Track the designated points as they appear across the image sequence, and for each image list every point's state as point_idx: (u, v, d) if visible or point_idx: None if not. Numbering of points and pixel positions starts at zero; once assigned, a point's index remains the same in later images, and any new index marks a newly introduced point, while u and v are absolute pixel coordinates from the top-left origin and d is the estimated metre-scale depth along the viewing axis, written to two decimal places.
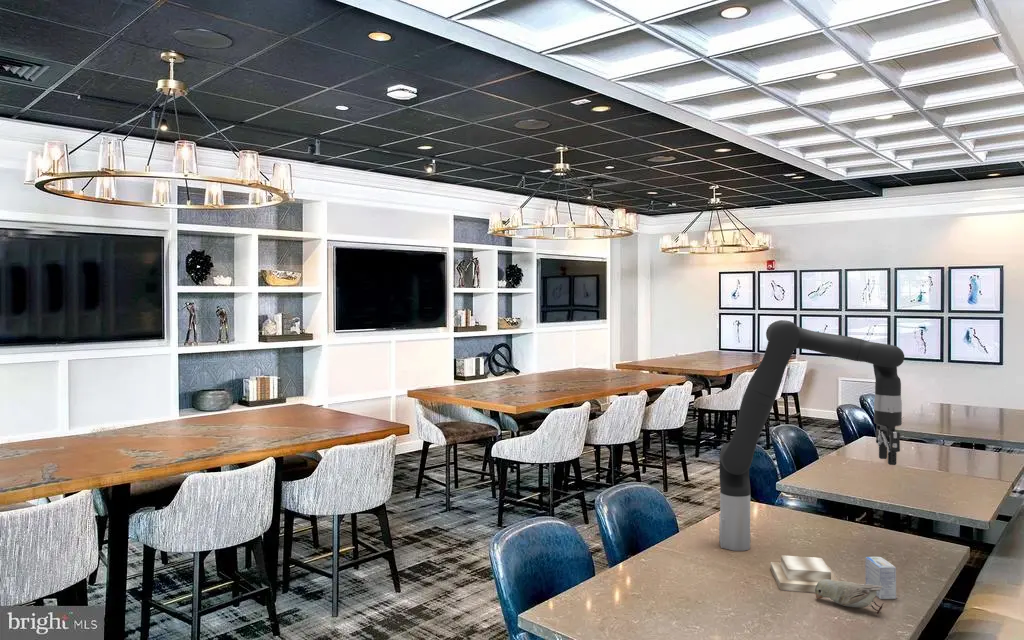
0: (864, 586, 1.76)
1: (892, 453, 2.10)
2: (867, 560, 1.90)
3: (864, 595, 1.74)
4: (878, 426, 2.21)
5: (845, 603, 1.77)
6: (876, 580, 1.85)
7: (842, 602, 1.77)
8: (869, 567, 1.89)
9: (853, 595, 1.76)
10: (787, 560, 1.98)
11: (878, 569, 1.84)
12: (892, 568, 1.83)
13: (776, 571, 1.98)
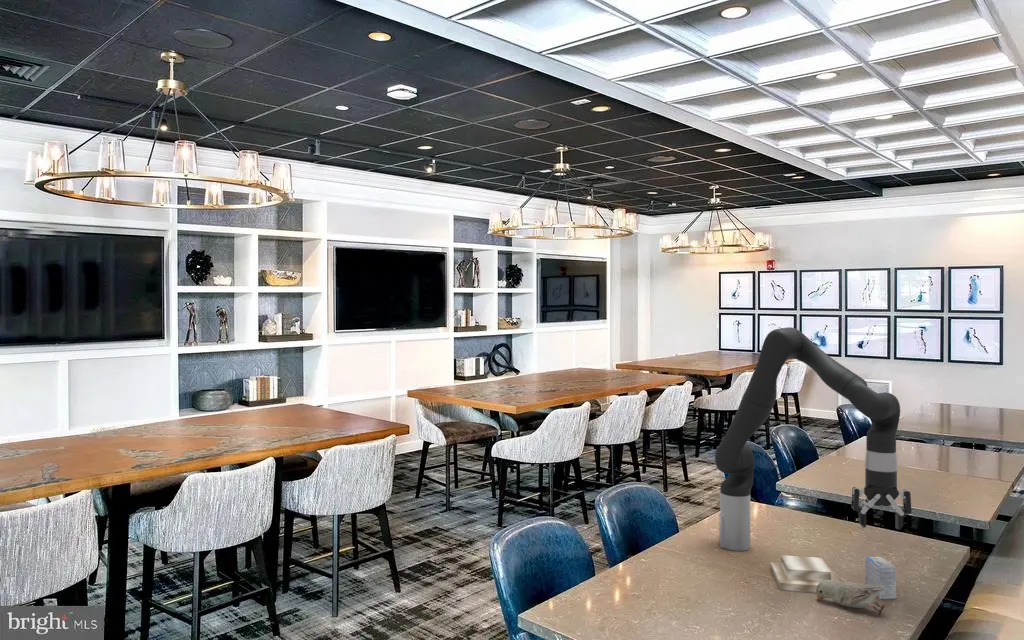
0: (866, 586, 1.75)
1: None
2: (867, 560, 1.90)
3: (865, 595, 1.74)
4: (858, 490, 1.87)
5: (846, 603, 1.76)
6: (876, 580, 1.85)
7: (844, 602, 1.77)
8: (869, 567, 1.89)
9: (855, 595, 1.75)
10: (787, 560, 1.98)
11: (878, 569, 1.84)
12: (892, 568, 1.83)
13: (776, 571, 1.98)
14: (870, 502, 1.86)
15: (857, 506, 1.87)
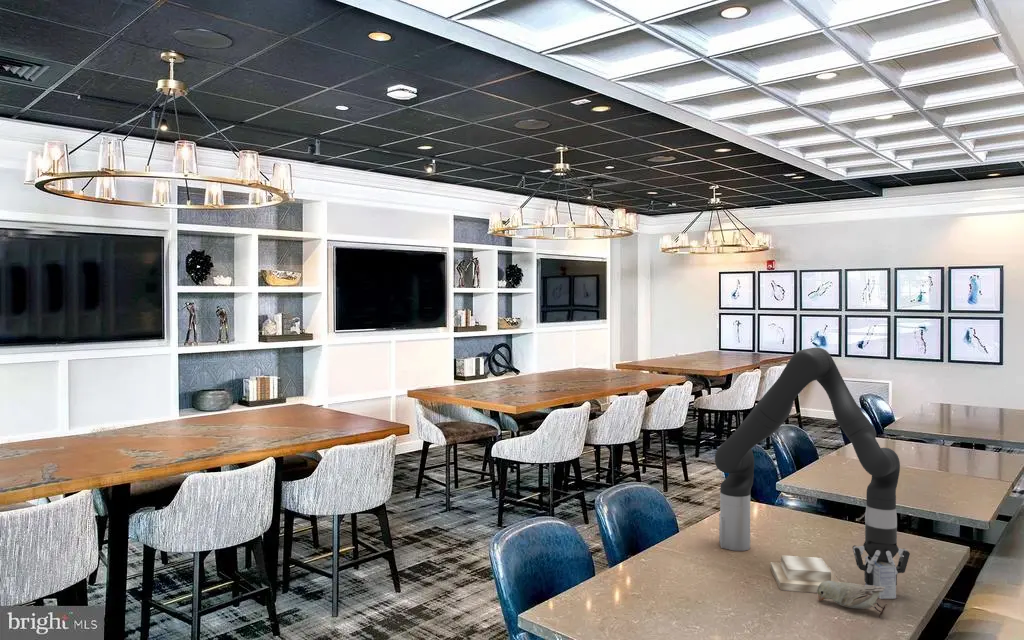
0: (867, 587, 1.75)
1: None
2: None
3: (867, 596, 1.74)
4: (858, 549, 1.87)
5: (848, 604, 1.76)
6: (876, 580, 1.85)
7: (845, 603, 1.77)
8: None
9: (856, 596, 1.75)
10: (787, 560, 1.98)
11: (878, 569, 1.84)
12: (891, 568, 1.83)
13: (776, 571, 1.98)
14: (872, 560, 1.86)
15: (863, 565, 1.87)
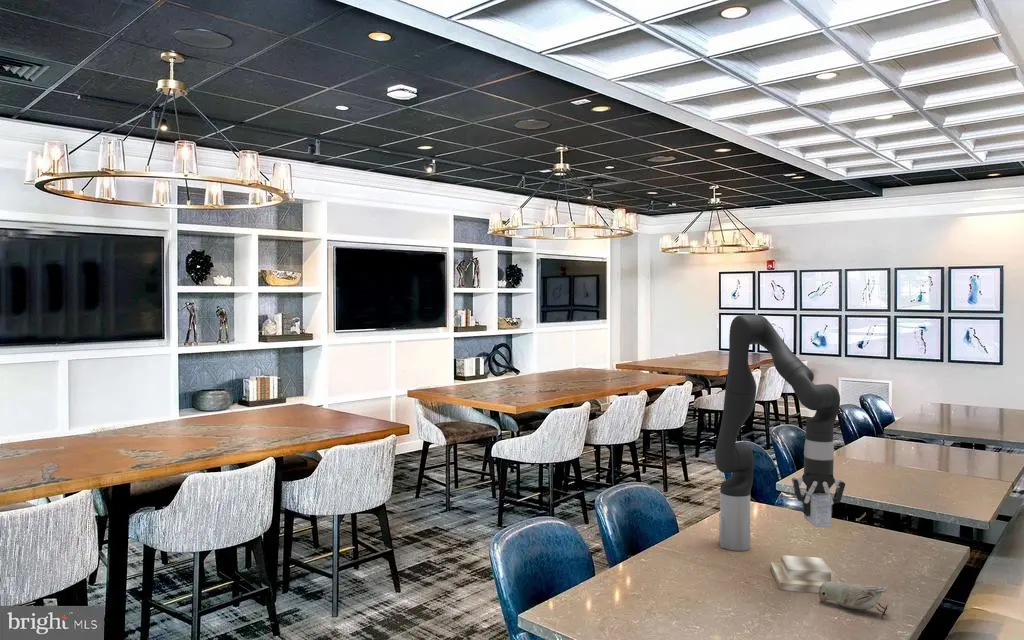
0: (869, 588, 1.74)
1: None
2: None
3: (869, 597, 1.73)
4: None
5: (850, 605, 1.75)
6: (812, 509, 1.92)
7: (847, 604, 1.76)
8: None
9: (858, 597, 1.74)
10: (787, 560, 1.98)
11: (815, 499, 1.91)
12: (827, 498, 1.90)
13: (776, 571, 1.98)
14: (810, 490, 1.93)
15: (801, 496, 1.94)
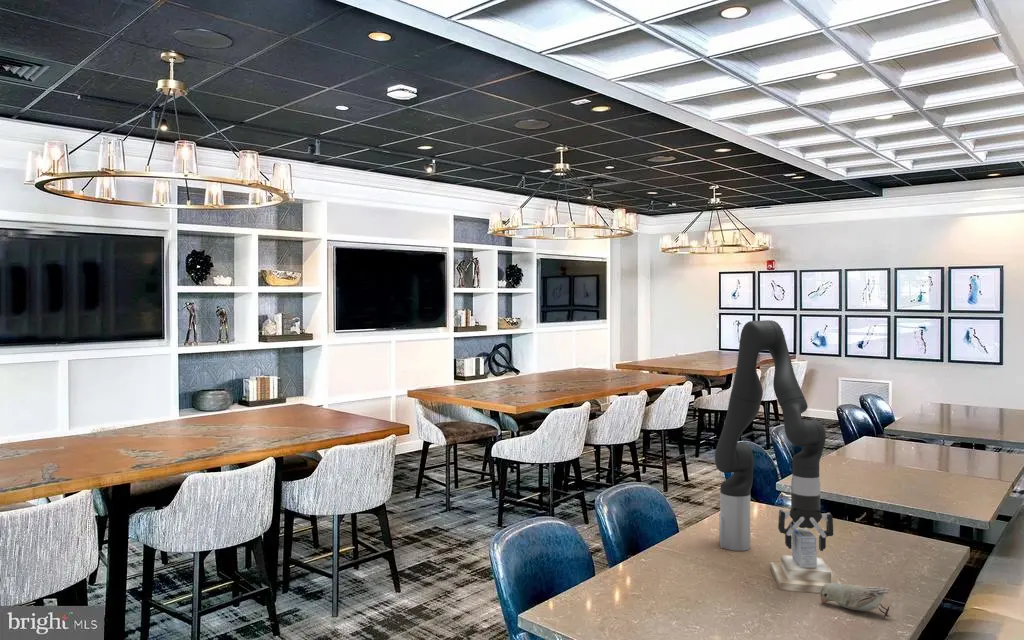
0: (871, 589, 1.74)
1: None
2: None
3: (871, 598, 1.73)
4: None
5: (852, 606, 1.75)
6: (798, 550, 1.94)
7: (849, 606, 1.75)
8: (794, 538, 1.97)
9: (861, 598, 1.74)
10: (787, 560, 1.98)
11: (799, 539, 1.92)
12: (812, 539, 1.92)
13: (776, 571, 1.98)
14: (795, 524, 1.94)
15: (783, 528, 1.95)
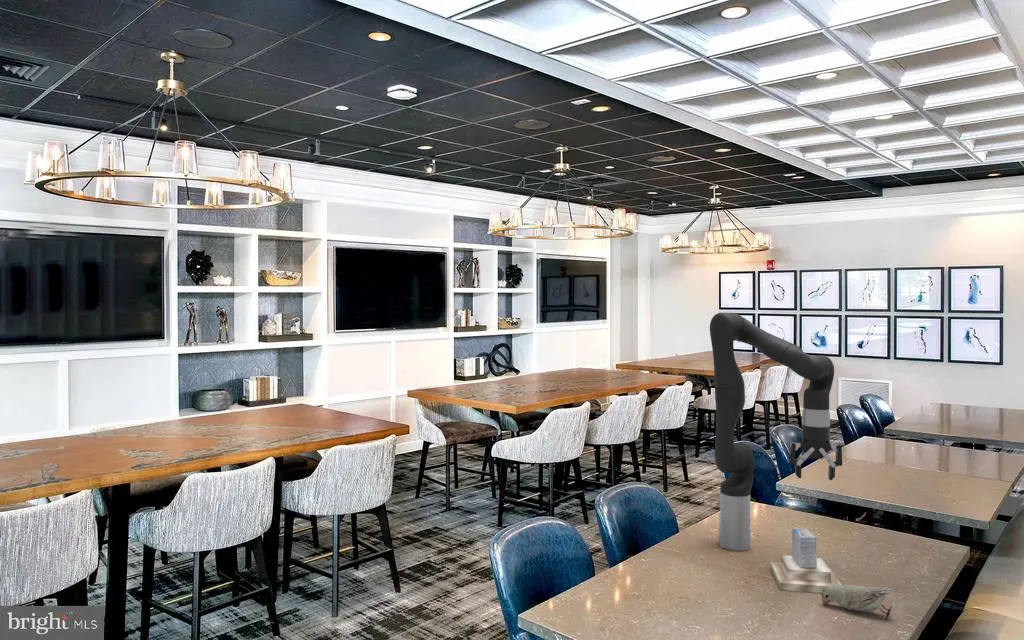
0: (873, 589, 1.73)
1: None
2: (793, 531, 1.98)
3: (873, 598, 1.72)
4: None
5: (854, 607, 1.74)
6: (798, 550, 1.94)
7: (851, 607, 1.75)
8: (794, 538, 1.97)
9: (862, 599, 1.73)
10: (787, 560, 1.98)
11: (799, 539, 1.92)
12: (812, 539, 1.92)
13: (776, 571, 1.98)
14: (805, 455, 2.04)
15: (793, 458, 2.05)
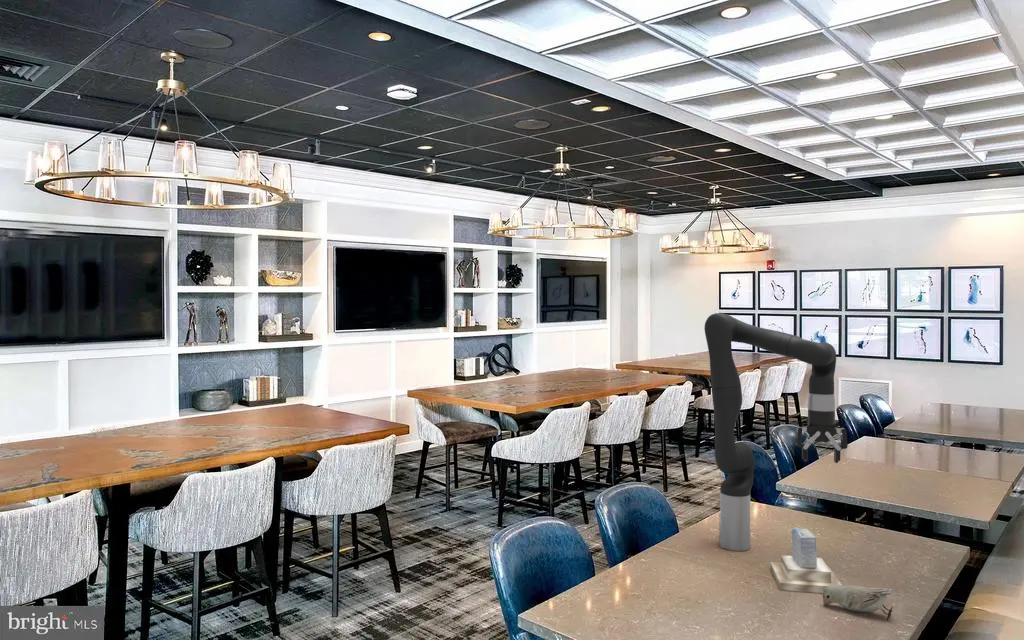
0: (874, 590, 1.73)
1: None
2: (793, 531, 1.98)
3: (875, 599, 1.72)
4: (801, 429, 2.11)
5: (855, 608, 1.74)
6: (798, 550, 1.94)
7: (852, 607, 1.74)
8: (794, 538, 1.97)
9: (864, 600, 1.73)
10: (787, 560, 1.98)
11: (799, 539, 1.92)
12: (812, 539, 1.92)
13: (776, 571, 1.98)
14: (811, 439, 2.10)
15: (800, 442, 2.11)
